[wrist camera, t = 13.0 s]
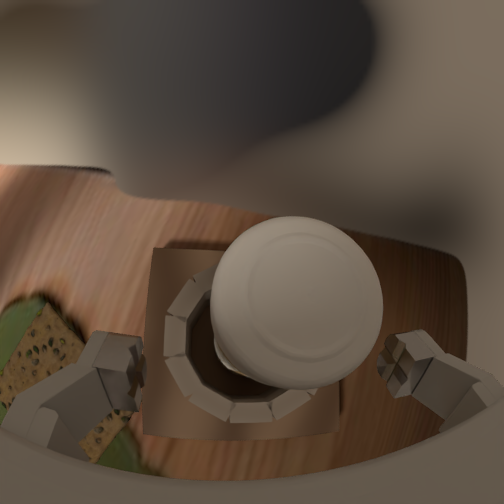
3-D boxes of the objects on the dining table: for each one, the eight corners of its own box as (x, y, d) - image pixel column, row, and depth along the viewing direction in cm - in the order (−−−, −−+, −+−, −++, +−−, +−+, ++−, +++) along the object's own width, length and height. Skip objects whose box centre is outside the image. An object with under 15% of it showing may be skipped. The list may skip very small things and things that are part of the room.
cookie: (148, 397, 18) (145, 398, 17) (80, 486, 13) (76, 489, 12) (50, 300, 19) (45, 297, 18) (-5, 389, 14) (-11, 389, 13)
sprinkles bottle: (270, 381, 18) (379, 399, 5) (205, 367, 18) (186, 368, 5) (283, 319, 20) (390, 235, 7) (221, 305, 19) (237, 190, 7)
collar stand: (147, 429, 16) (126, 448, 11) (156, 255, 22) (142, 221, 17) (331, 427, 18) (365, 440, 13) (323, 262, 24) (350, 233, 19)
